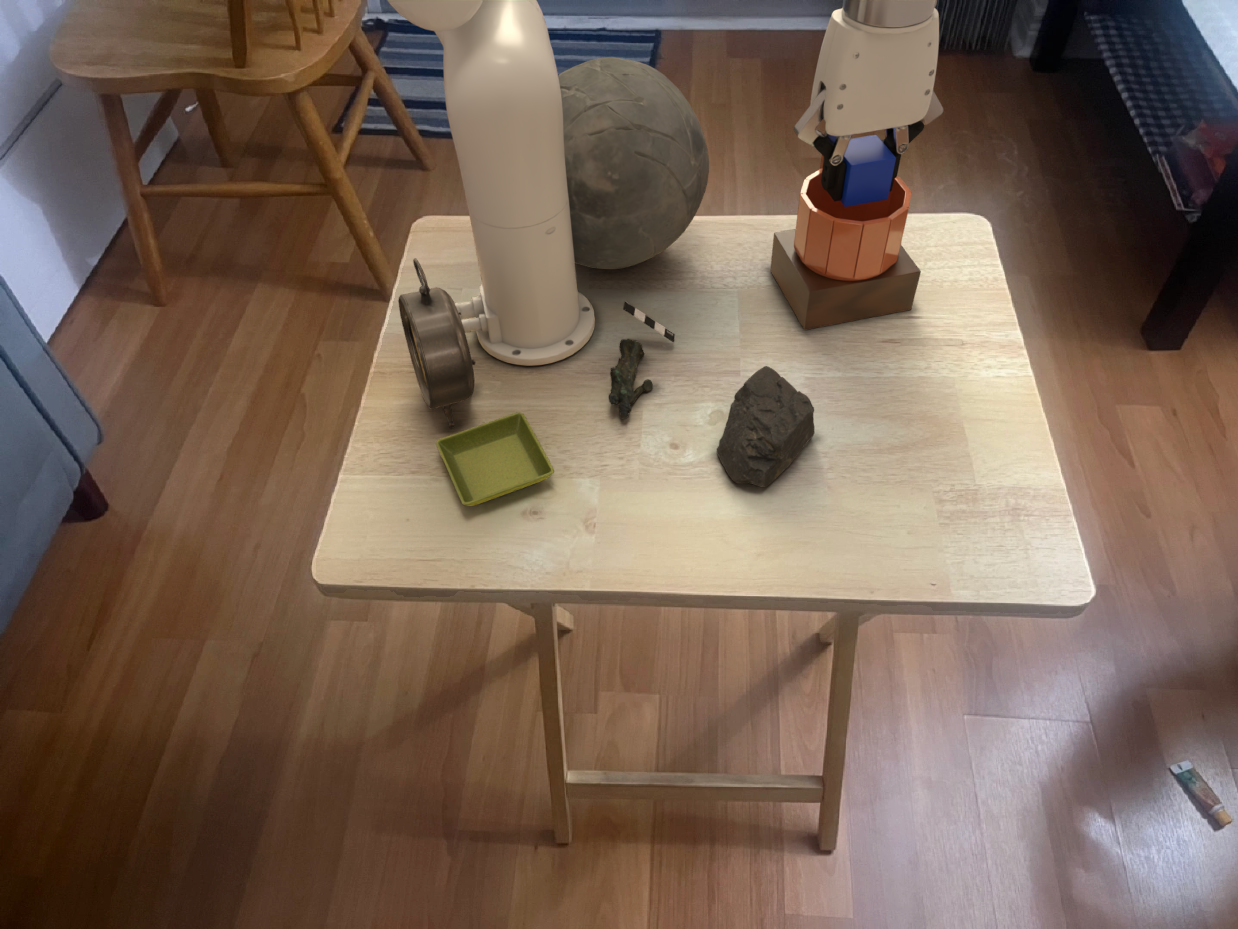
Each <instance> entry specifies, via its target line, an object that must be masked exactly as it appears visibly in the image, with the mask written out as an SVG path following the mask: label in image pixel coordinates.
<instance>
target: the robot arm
mask: <svg viewBox="0 0 1238 929" xmlns="http://www.w3.org/2000/svg"><path fill="white" fill-rule="evenodd" d="M386 1H387V2H388V4H389V5H390V6H391V7H392V8H393V9H394V10H395V11H396V12H397V13H398V14H399V15H400V16H402V18H404V19H405V20H407V21H408V22H409V23H411V24H412V25H414V26H417V27H418V28H421V29H424V30H426V31H431V32H434V34H435V35H436V37H437V38H438V40H439V42H440V44H441V46H442V48H443V56H442V57H443V58H442V61H443V63H442V64H443V66H442V68H443V89H444V90H443V91H444V100H445V108H446V114H447V121H448V125H449V129H450V133H451V137H452V142H453V146H454V149H455V154H456V157H457V162H458V166H459V167H458V168H459V171H460V177H461V181H462V186H463V192H464V198H465V201H466V207H467V211H468V215H469V221H470V227H471V232H472V237H473V242H474V247H475V248H474V249H475V253H476V258H477V263H478V267H479V268H478V269H479V273H480V279H481V284H480V285H479V286H478V287H479V294H480V295H476V296H471V300H467V301H461V302H454V303H455V305H456V308H457V310H458V313H459V312H460V313H461V315H460V314H459V315H460V318H461V321H462V324H463V327H464V330H465V334H467V333H471V332H474V331H475V332H476V336H477V339H478V342H479V344H480V346H481V347H482V349H484V351H486V352H487V353H488V354H489V355H490V356H492V357H493V358H494V359H497V360H500V361H501V362H504V363H508V364H512V365H517V366H528V367H529V366H542V365H548V364H553V363H555V362H559V361H562V360H565V359H567V358H569V357H570V356H572V355H574V354H576V353H577V352H578V351H579V350H581V349H582V348H584V346H586V344H587V343H588V342H589V340H590V339H591V337H592V336H593V333H594V330H595V326H596V325H595V324H596V318H595V311H594V308H593V305H592V303H591V302H590V300H589V299H588V298H587V297H586V296H585V295H584V294H583V293H582V292H580V291H578V285H577V272H576V263H575V261H574V250H573V239H572V229H571V218H570V207H569V197H568V189H567V178H566V167H565V154H564V137H563V110H562V98H561V90H560V84H559V78H558V75H559V73H558V68H557V63H556V58H555V55H554V49H553V48H552V43H551V39H550V35H549V29H548V26H547V22H546V18H545V16H544V13H543V11H542V9H541V6H540V5H539V2H538V1H537V0H386ZM937 4H938V0H842V8H838V9H835V10H833V11H832V13H831V17H830V18H829V21H828V24H827V27H826V30H825V33H824V36H823V40H822V43H821V47H820V51H819V53H818V54H819V55H818V59H817V64H816V69H815V73H814V79H813V83H812V89H811V96H810V105H809V106H808V108H807V109H806V110H805V111H804V113H803V114H802V115H801V117H800V118H799V120H798V121H797V122H796V124H794V127H793V132H794V134H795V135H796V136H797V138H798V139H799V140H801V141H802V142H803V143H806V144H807V145H809V146H810V147H813V148H814V149H815V150H816V151H817V152H819V154H821V156H822V155H823V156H824V162H823V169H822V176H821V184H822V187H823V188H824V190H827V192H828V193H829V195H830V196H831V198H832V199H833V200H834V202H835V201H840V200H841V199H842V194H843V187H844V181H845V175H846V168H847V166H846V164H845V162H844V161H843V158H844V155H845V153H846V150H847V147H848V145H849V142H850V140H851V139H852V137H853V135H858V134H864V133H871V132H876V131H877V132H878V131H882V130H884V138H883V139H881V141H882V142H883V143H884V144H885V145H886V147H887V148H888V149H889V150H890V151H891V153H892V154H893V155H894V156H895V158H896V160H895V165H894V170H893V175H892V180H891V185H890V190H889V192H891V191H892V188H893V183H894V178H896V177H897V176H898V173H899V168H900V163H901V159H902V155H903V154H905V153H907V151H909V148H910V143H912V142H913V140H915V139H916V138H917V137H918V136H919V135H920V134H921V133H922V132H924V129H925V126H926V127H928V126H929V125H930V124H931V123H932V122H934V121H935V120H936V119H937V118H939V117H940V116H941V115H943V112H944V107H943V106H942V103H941V101H940V100H939V98H938V96H937V95H936V93H935V90H934V86H935V81H936V74H937V67H938V58H939V47H940V46H939V44H940V17H939V16H940V15H939V11H938V9H936V7H937ZM823 121H824V122H825V124H824V125H825V128H824V129H825V131H824V133H823V132H822V131H820V130H818V129H817V128H818V126H819V125H820V124H821V122H823Z"/></svg>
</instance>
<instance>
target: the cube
mask: <svg viewBox="0 0 1238 929" xmlns="http://www.w3.org/2000/svg"><path fill="white" fill-rule="evenodd" d="M881 140H882V139H881V138H880V137H879V136H878V135H877V134H872V135H867V136H861V137H855V138H851V140H850V142H849V145H848V147H847V150H846V153H845V155H844V158H843V161H844V162H845V164H846V166H847V168H846V175H845V181H844V187H843V194H842V199H841V200H840V201H841V203H842V204H843V205H844V207H848V206H853V205H859V204H865V203H870V202H876V201H881V200H887V199H888V195H889V190H890V185H891V180H892V175H893V170H894V165H895V160H896V158H895V156H894V155H893V154H892V153H891V151H890V150H889V149H888V148H887V147H886V145H885V144H884V143H883V142H882V141H881Z"/></svg>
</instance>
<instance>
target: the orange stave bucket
mask: <svg viewBox="0 0 1238 929" xmlns="http://www.w3.org/2000/svg"><path fill="white" fill-rule="evenodd" d="M823 162H824V156H823V155H822V154H821V157H820V164H819V169H817V170H816V171H815V172H813V173H811V174H809V175H808V176H806V177H805V178H804V179H803V182H802V185H801V188H800V192H799V199H798V206H797V215H796V222H795V229H796V230H795V238H794V249H795V251H796V252H797V254H798V255H799V258H800V260H801V261H802V262H803V263H804V264H805V265H806V266H807V267H808V268H809V269H810V270H812V271H814V272H815V273H817V274H820V275H822V276H825V277H828V278H831V279H836V280H844V281H858V280H865V279H869V278H873V277H876V276H878V275H880V274H882V273H883V272H885V271H886V270H887V269H888V268H889V267H890V266H892V265H893V264H894V263H896V261H897V259H898V255H899V250H900V246H901V245H902V240H903V236H904V232H905V228H906V225H907V224H906V223H907V220H908V219H907V218H908V214H909V210H910V205H911V200H912V190H911V189H910V188H909V187H908V186H907V184H906V183H905V182H904V181H903V179H902V178H901V177H899V175H897V177H896V178H894V183H893V188H892V191H891V192H889V195H888V199H887V200H881V201H876V202H870V203H865V204H859V205H853V206H848V207H844V205H843V204H842V203H841V201H835V202H834V200H833V199H832V198H831V196H830V195H829V193H828V192H827V190H824V188H823V187H822V184H821V176H822V169H823Z"/></svg>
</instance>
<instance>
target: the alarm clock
mask: <svg viewBox="0 0 1238 929" xmlns="http://www.w3.org/2000/svg"><path fill="white" fill-rule="evenodd" d="M412 263H413V267H414V269H415V273H416V276H417V278H418V280H419V283H420V287H419V288H418V290H417V291H413V292H409V293H404V294H400V295H399V296H398V300H397V301H398V309H399V316H400V319H401V326H402V328H403V329H402V330H403V333H404V336H405V340H406V341H405V342H406V346H407V349H408V353H409V356H410V361H411V364H412V366H413V370H414V374H415V377H416V380H417V383H418V386H419V389H420V393H421V395H422V398H423V400H424V402H425V404H426V406H427V408H429V409H430V410H434V409H437V408H441V407H442V408H443V411H444V414H445V417H446V419H447V421H448V428H449V429H454V428H455V427H456V424H455V421H454V418H453V410H452V408H451V405H453V404H456V403H460V402H464V401H467V400H468V399H470V398H471V397H472V395H473V393H474V390H475V370H474V366H475V365H476V360H475V359H474V358H472V354H471V350H470V346H469V341H468V337H467V335H466V334H467V333H465V330H464V327H463V324H462V321H461V318H460V315H461V313H460V312H459V313H458V310H457V308H456V305H455V303H456V302H455V301H454V299H453V298H452V296H451V295H450V293H448V291H446V290H445V289H443V288H442V287H438V286H437V287H436V286H435V287H431V288H430V287H429V285H428V280H427V277H426V274H425V272H424V269H423V267H422V265H421V264H420V262H419V260H418V259H417V258H413V260H412ZM459 314H460V315H459Z"/></svg>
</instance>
